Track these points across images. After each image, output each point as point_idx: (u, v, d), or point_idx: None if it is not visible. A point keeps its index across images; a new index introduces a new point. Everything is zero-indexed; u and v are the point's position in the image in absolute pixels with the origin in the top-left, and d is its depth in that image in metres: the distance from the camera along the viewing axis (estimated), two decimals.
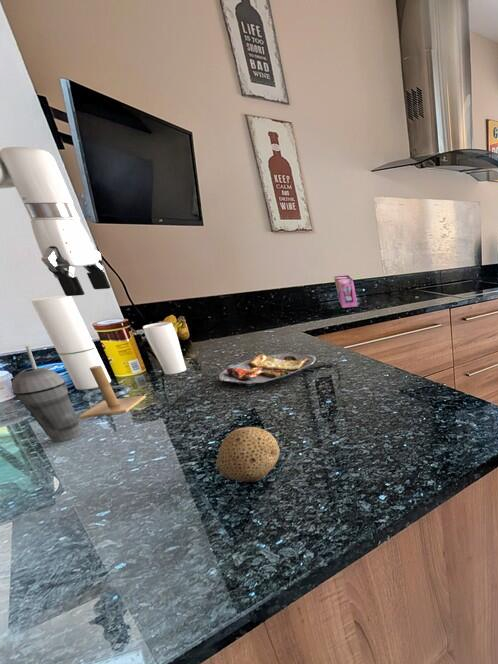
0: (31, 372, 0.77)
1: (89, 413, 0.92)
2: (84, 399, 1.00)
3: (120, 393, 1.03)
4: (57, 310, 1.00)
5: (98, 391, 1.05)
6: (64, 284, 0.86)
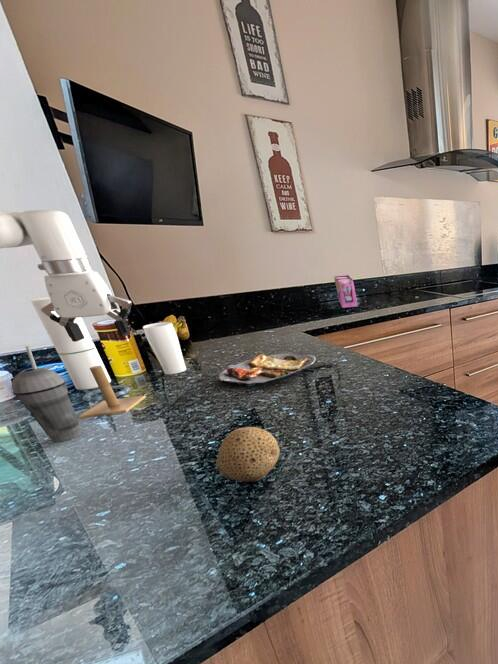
0: (31, 372, 0.77)
1: (89, 413, 0.92)
2: (84, 399, 1.00)
3: (120, 393, 1.03)
4: None
5: (98, 391, 1.05)
6: (125, 325, 0.99)
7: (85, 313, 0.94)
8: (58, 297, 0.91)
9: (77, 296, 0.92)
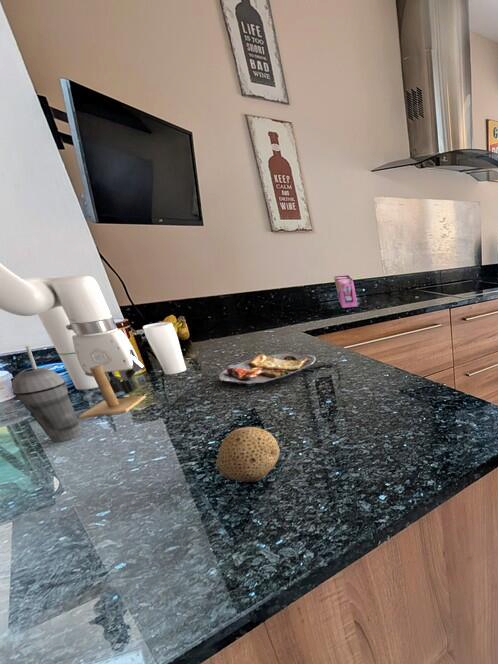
0: (31, 372, 0.77)
1: (89, 413, 0.92)
2: (85, 399, 1.00)
3: (121, 393, 1.03)
4: (57, 310, 1.00)
5: (99, 391, 1.05)
6: (131, 384, 1.04)
7: (109, 369, 1.00)
8: (84, 355, 0.97)
9: (102, 354, 0.98)
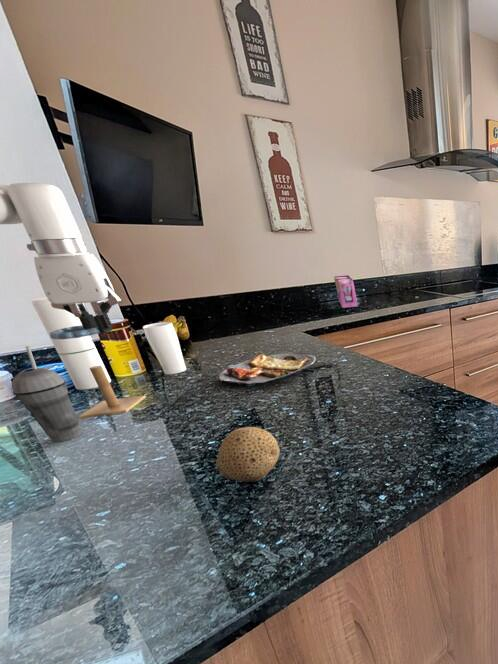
0: (31, 372, 0.77)
1: (89, 413, 0.92)
2: (51, 335, 0.85)
3: (94, 329, 0.89)
4: (57, 310, 1.00)
5: (69, 329, 0.90)
6: (106, 320, 0.90)
7: (79, 299, 0.85)
8: (49, 281, 0.83)
9: (70, 280, 0.84)
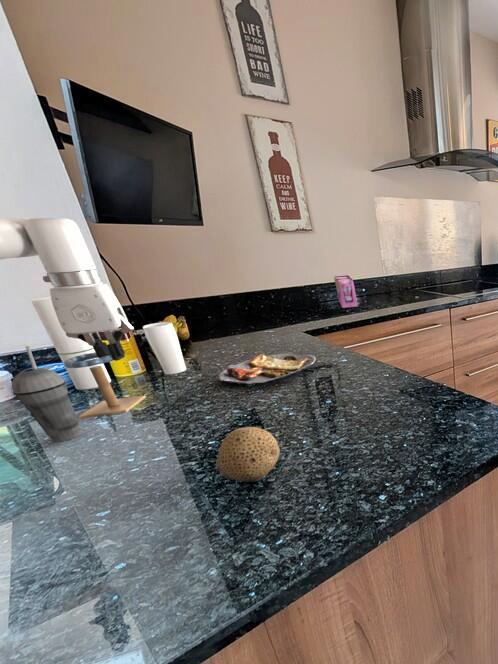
0: (31, 372, 0.77)
1: (89, 413, 0.92)
2: (66, 363, 0.87)
3: (108, 357, 0.90)
4: None
5: (83, 356, 0.92)
6: (119, 348, 0.91)
7: (93, 328, 0.87)
8: (64, 312, 0.84)
9: (85, 310, 0.85)
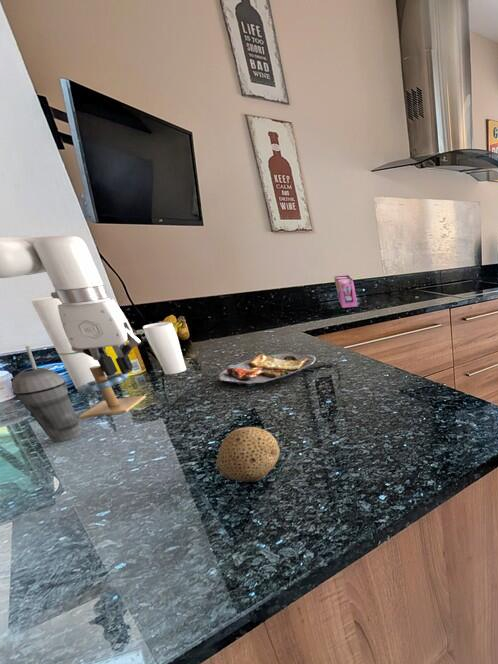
0: (31, 372, 0.77)
1: (89, 413, 0.92)
2: (79, 390, 0.90)
3: (117, 379, 0.92)
4: (57, 310, 1.00)
5: (95, 382, 0.94)
6: (127, 362, 0.93)
7: (100, 343, 0.88)
8: (72, 327, 0.86)
9: (92, 326, 0.87)
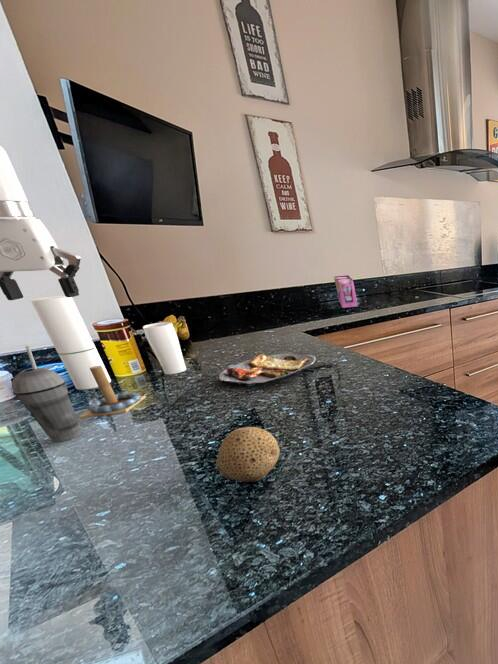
0: (31, 372, 0.77)
1: (89, 413, 0.92)
2: (91, 408, 0.92)
3: (130, 402, 0.95)
4: (57, 310, 1.00)
5: None
6: (72, 284, 0.85)
7: (22, 266, 0.80)
8: None
9: (13, 245, 0.79)
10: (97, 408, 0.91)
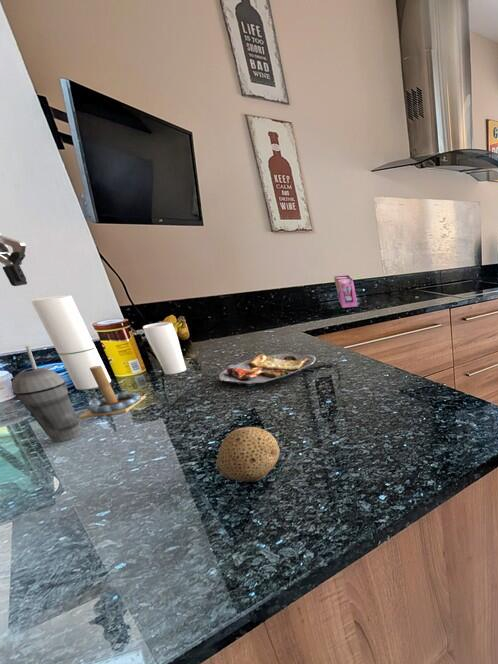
0: (31, 372, 0.77)
1: (89, 413, 0.92)
2: (91, 408, 0.92)
3: (130, 402, 0.95)
4: (57, 310, 1.00)
5: None
6: (17, 272, 0.83)
7: None
8: None
9: None
10: (97, 408, 0.91)
